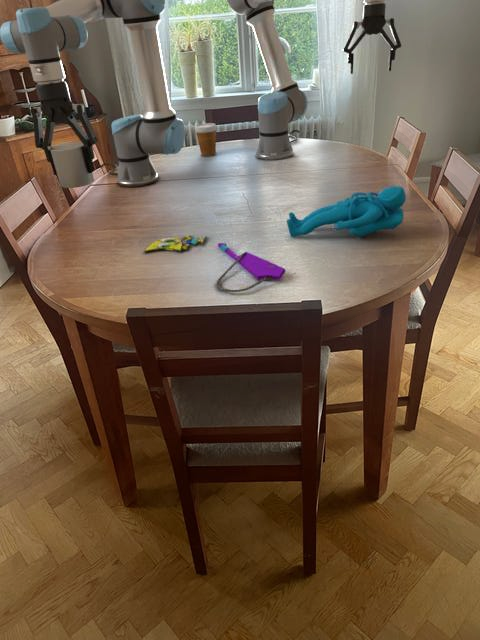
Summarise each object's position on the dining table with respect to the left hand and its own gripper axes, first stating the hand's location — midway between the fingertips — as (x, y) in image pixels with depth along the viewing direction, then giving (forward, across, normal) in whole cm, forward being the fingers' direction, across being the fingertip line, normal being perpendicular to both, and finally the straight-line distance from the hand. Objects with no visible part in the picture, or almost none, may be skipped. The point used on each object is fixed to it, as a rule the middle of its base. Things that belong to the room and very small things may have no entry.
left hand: (74, 172), depth 131 cm
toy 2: (+18, +72, -6) cm, 75 cm away
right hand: (-10, +88, +75) cm, 116 cm away
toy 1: (+18, +28, -9) cm, 34 cm away
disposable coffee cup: (+19, +22, +86) cm, 91 cm away
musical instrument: (+18, +46, -26) cm, 56 cm away
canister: (+3, 0, 0) cm, 3 cm away
